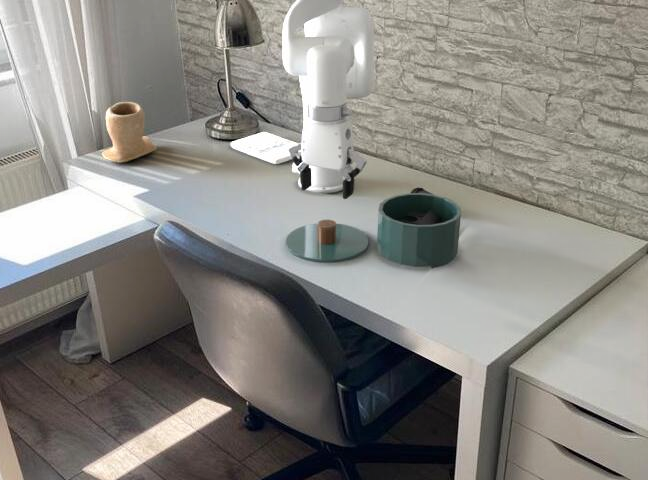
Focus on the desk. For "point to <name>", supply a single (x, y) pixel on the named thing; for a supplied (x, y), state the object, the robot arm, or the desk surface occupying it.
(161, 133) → the desk surface
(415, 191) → the electric trimmer
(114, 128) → the stone cup
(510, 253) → the desk surface
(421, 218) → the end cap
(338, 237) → the lid
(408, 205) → the canister
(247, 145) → the white flat block
